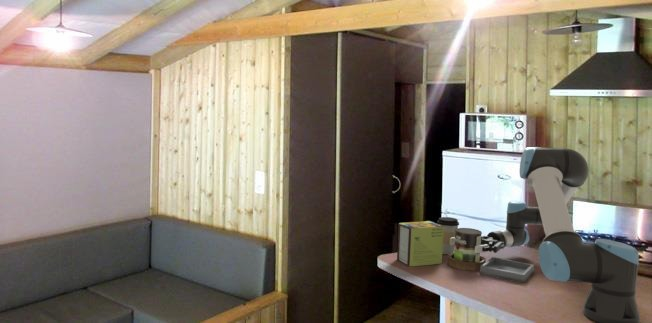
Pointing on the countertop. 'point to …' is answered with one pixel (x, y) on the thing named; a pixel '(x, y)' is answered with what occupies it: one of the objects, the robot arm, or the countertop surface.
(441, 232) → the protein box
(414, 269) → the countertop surface
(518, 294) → the countertop surface
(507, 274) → the tray
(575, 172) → the robot arm
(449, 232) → the coffee cup
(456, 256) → the coffee can
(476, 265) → the holder ring
